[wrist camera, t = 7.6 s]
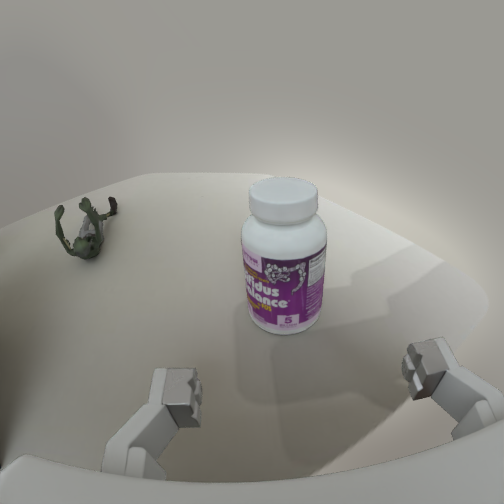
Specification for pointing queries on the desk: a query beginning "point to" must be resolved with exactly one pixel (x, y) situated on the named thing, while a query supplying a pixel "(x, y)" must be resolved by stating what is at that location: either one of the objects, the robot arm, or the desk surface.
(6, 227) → the desk surface
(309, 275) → the pill bottle
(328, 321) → the desk surface
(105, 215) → the zombie figurine
